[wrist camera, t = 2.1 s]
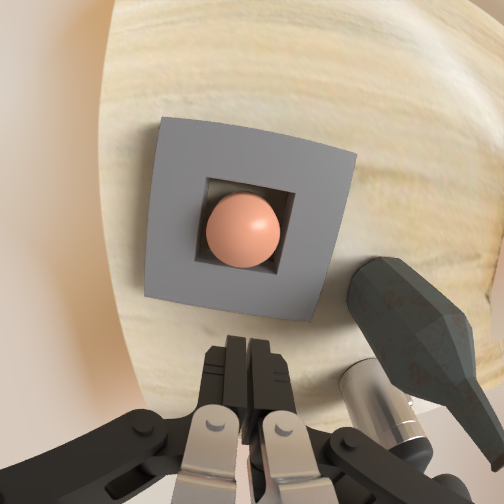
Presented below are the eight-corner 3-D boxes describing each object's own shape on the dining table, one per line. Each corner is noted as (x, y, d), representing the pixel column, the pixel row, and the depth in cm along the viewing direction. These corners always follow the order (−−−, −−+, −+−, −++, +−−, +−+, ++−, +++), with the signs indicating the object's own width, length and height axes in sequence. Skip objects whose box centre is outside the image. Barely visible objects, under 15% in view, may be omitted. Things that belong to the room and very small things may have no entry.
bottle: (357, 329, 38) (446, 509, 10) (333, 279, 35) (453, 497, 7) (414, 294, 37) (536, 440, 9) (398, 241, 34) (570, 391, 6)
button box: (344, 153, 30) (357, 153, 26) (304, 305, 37) (310, 322, 33) (171, 120, 28) (161, 116, 24) (153, 281, 35) (144, 296, 31)
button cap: (281, 197, 30) (286, 204, 26) (268, 258, 32) (271, 272, 28) (216, 185, 29) (212, 191, 25) (206, 247, 31) (201, 261, 28)
